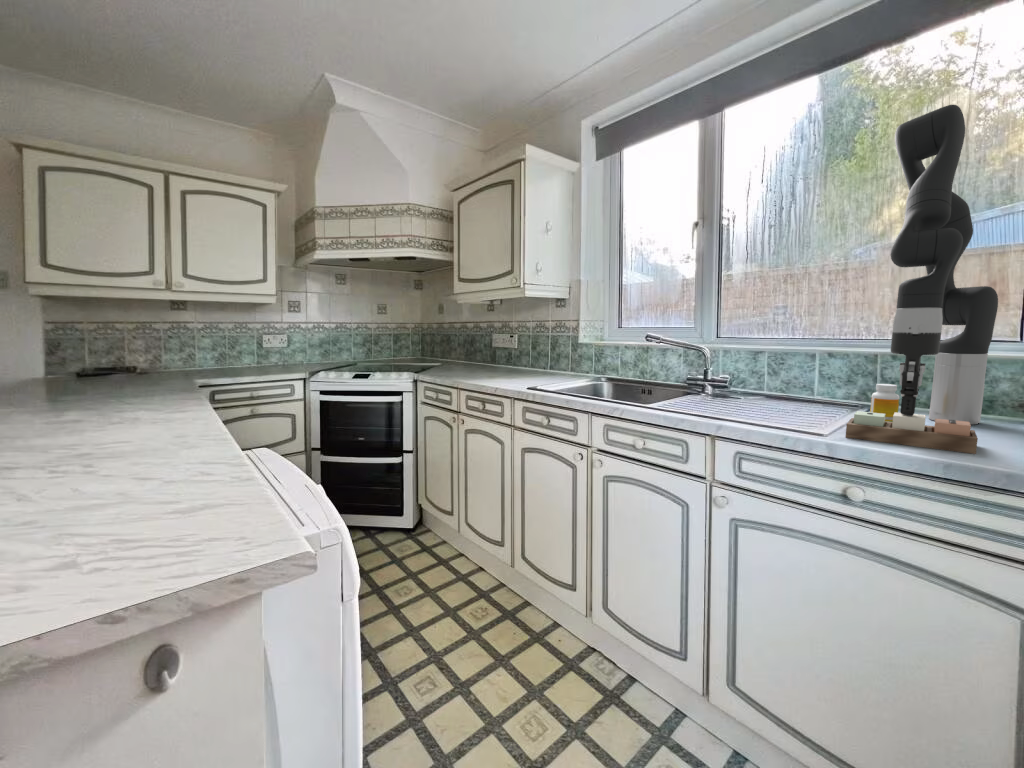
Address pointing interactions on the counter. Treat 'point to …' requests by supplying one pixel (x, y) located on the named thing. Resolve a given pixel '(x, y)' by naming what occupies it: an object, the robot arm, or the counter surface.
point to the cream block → (909, 421)
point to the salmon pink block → (952, 427)
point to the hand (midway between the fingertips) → (907, 414)
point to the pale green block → (869, 418)
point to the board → (913, 437)
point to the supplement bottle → (885, 401)
